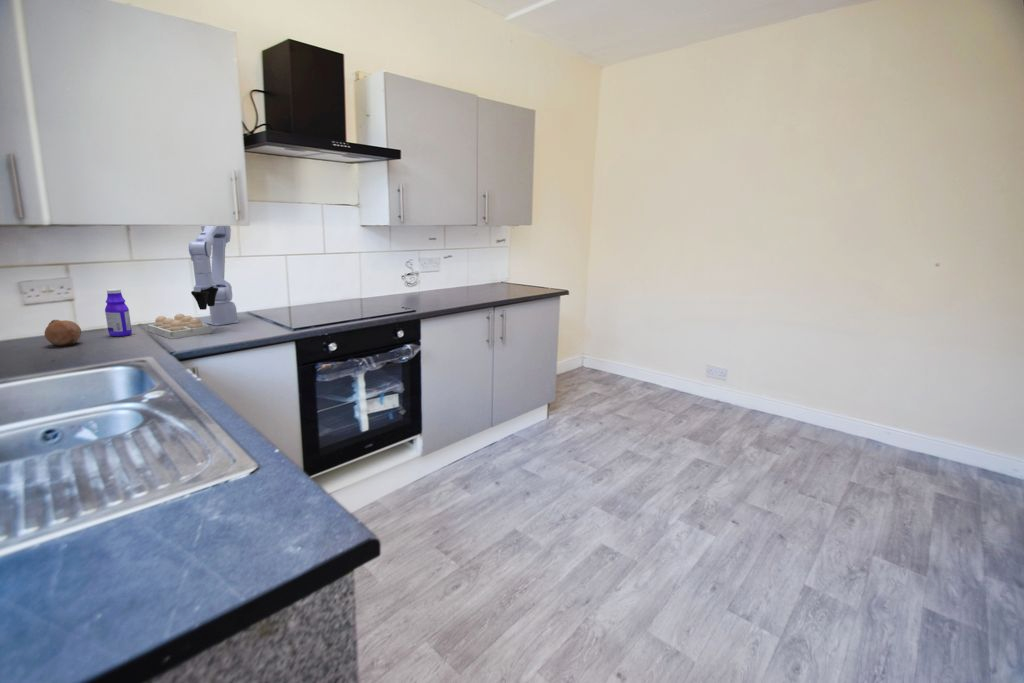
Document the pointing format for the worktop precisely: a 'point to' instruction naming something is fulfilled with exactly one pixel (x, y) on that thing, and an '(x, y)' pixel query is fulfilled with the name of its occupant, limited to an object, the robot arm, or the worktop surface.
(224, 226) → the robot arm
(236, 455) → the worktop surface
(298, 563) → the worktop surface
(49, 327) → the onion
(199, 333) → the carton
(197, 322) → the egg
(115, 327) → the bottle
